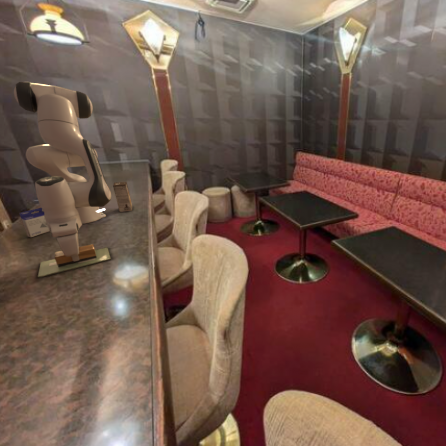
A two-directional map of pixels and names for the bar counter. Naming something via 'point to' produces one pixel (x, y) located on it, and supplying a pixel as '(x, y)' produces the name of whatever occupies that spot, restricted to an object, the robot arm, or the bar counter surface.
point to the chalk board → (52, 267)
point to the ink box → (34, 222)
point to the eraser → (84, 255)
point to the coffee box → (122, 196)
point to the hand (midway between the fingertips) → (76, 256)
